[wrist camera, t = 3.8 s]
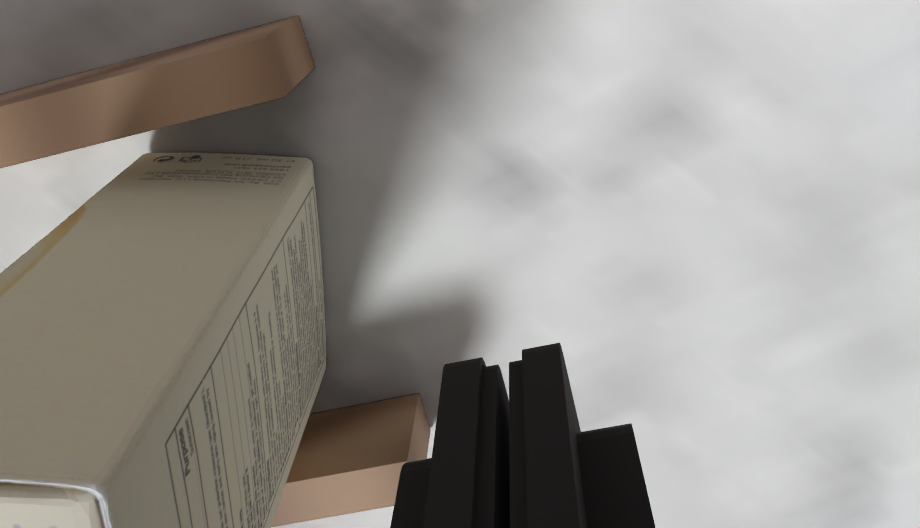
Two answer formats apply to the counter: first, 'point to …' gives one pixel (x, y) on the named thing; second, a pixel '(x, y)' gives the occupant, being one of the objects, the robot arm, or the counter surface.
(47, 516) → the skincare box
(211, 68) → the walnut rest
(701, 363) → the counter surface
